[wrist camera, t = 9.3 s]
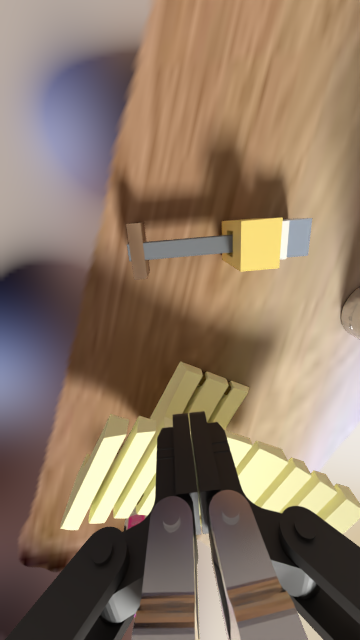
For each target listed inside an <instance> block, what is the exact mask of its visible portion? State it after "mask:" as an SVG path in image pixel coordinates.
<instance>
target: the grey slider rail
mask: <svg viewBox="0 0 360 640" xmlns="http://www.w3.org/2000/svg"><path fill="white" fill-rule="evenodd" d="M127 248H128V255H129V261H131V254H130V247H129V244H127ZM143 248H144V256H145V260H151V259H163V258H174V257H185V256H196V255H208V254H219V253H230V252H233V234H232V235H221V236H209V237H198V238H186V239H174V240H163V241H151V242H144V243H143Z"/></svg>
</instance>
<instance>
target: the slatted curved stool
mask: <svg viewBox="0 0 360 640" xmlns="http://www.w3.org/2000/svg"><path fill="white" fill-rule="evenodd" d="M197 385H198V386H197ZM196 387H197V388H196ZM249 388H250V387H247V386H244V385H242V384H239V383H236V382H234V381H230V383H228V382H227V380H226V378H223V377H220V376H218V375H215V374H213V373H210V372H207V371H206V372H205V374H203V373H202V371H201V369H199V368H197V367H194V366H191V365H189V364H186V363H183V362H181V361H180V363H179V365H178V367H177V368H176V370H175V372H174V374H173V376H172V378H171V380H170V381H169V383H168V385H167V387H166V389H165V391H164V393H163V394H162V396H161V398H160V400H159V402H158V404H157V406H156V408H155V409H154V411H153V413H152V415H151V417H150V419H148V418H145V417H142V416H139V417H138V418H137V420H136V422H135V424H134V426H133V428H132V430H131V432H130V434H129V435H128V437H127V439H126V441H125V443H124V445H123V446H122V448H121V450H120V452H119V453H118V455H117V457H116V458H115V456H116V454H117V452H118V450H119V448H120V446H121V444H122V442H123V440H124V438H125V436H126V434H127V429H128V423H129V420H128V419H125V418H122V417H118V416H115V415H112V414H110V416H109V418H108V420H107V423H106V425H105V427H104V429H103V431H102V433H101V435H100V437H99V439H98V442H97V444H96V446H95V448H94V450H93V452H92V454H91V455H89V454H87V455H86V457H85V459H84V461H83V464H82V466H81V468H80V470H79V472H78V475H77V477H76V480H75V483H74V486H73V489H72V492H71V495H70V498H69V501H68V504H67V506H66V509H65V513H64V516H63V519H62V522H61V527H60V528H62V529H67V530H78V528H79V526H80V524H81V523H82V521H83V519H84V517H85V515H86V513H87V511H88V509H89V507H90V505H91V509H90V514H89V523H92V524H95V523H105V521H106V519H107V517H108V516H109V514H110V512H111V510H112V508H113V507H114V511H113V514H114V518H129V516H130V514H131V513H132V511H133V509H134V508H136V513H137V514H139V515H148V514H149V513H150V511H151V510H152V508H153V505H154V502H155V488H156V461H157V459H156V455H157V437H158V435H159V433H160V431H161V429H162V428H167V427H173V416H172V415H173V414H183V413H188V418H189V413H191V412H201V411H205V415H206V420H207V423H212V422H218V423H219V424H220V426H221V427H222V428H223V429H224V430H225V428H226V427H227V425H228V423H229V422H230V420H231V418H232V417H233V415H234V414H235V412H236V410H237V409H238V407H239V406H240V404H241V403H242V401H243V400H244V398H245V397H246V395H247V394H248V390H249ZM194 390H195V391H194ZM193 392H194V393H193ZM189 399H190V400H189ZM189 426H190V418H189ZM225 433H226V437H227V440H228V444H229V447H230V451H231V454H232V457H233V461H234V464H235V467H236V471H237V474H238V478H239V481H240V485H241V488H242V490H243V492H244V494H245V495H246V497H247V498H248V499H249V500H250V501H251V502H252V503H254V504H255V505H257V506H259V507H261V508H264V509H267V510H271V511H275V512H279V513H282V512H283V511H284V510H285V509H286V508H288V507H291V506H301V507H304V508H307V509H309V510H311V511H312V512H314V513H315V514H316V515H318V516H319V517H320V518H322V519H323V520H324V521H326V522H327V523H328V524H330V525H331V526H332V527H334V528H335V529H336V530H338V531H339V532H340V533H342V534H343V533H345V532H346V531H347V530H348V529H349V528H350V527H351V526H352V525H353V524H355V523H356V522H357V521H358V520H359V519H360V503H359V502H358V500H357V499H356V497H355V496H354V494H353V493H352V492H351V490H350V489H349V487H346V486H343V485H340V484H336V485H335V486H333V485H332V483H331V482H330V480H329V479H328V477H327V475H326V474H324V473H320V472H317V471H313V472H312V473H310V472H309V470H308V468H307V467H306V465H305V463H304V461H301V460H297V459H294V458H290V459H289V461H288V460H287V458H286V457H285V455H284V453H283V451H282V449H280V448H277V447H274V446H271V445H268V444H265V443H262V442H259V441H256V442H255V443H254V444H253V445H252V443H251V440H250V438H247V437H244V436H241V435H238V434H234V433H231V432H228V431H225ZM190 434H191V431H190ZM114 458H115V460H114ZM113 460H114V461H113ZM198 500H199V499H198ZM91 503H92V504H91ZM199 513H200V507H199ZM200 525H201V526H202V523H201V515H200Z"/></svg>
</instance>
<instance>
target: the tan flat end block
mask: <svg viewBox="0 0 360 640" xmlns="http://www.w3.org/2000/svg"><path fill="white" fill-rule="evenodd" d="M126 227H127V234H128V241H129V247H130V254H131V261H132V267H133V274H134V280H138V279H147V278H148V275H149V271H150V267H149V260H145V256H144V248H143V243H144V242H146V235H145V227H144V223H133V224H126Z"/></svg>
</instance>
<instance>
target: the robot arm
mask: <svg viewBox="0 0 360 640" xmlns="http://www.w3.org/2000/svg"><path fill="white" fill-rule="evenodd" d="M341 320H342V325H343V327H344V329H345V330H346V331H347V332H348V333H350V334H351V335H353V336H354V337H356V338H358V339H359V340H360V287H359V288H358V289H357V290H355V291H354V292H353V293H352V294H351V295H350V297H349V298H348V299H347V301H346V303H345V305H344V307H343V310H342V315H341ZM172 416H173V427H167V428H162V429H161V431H160V433H159V435H158V437H157V455H156V459H157V461H156V488H155V502H154V505H153V508H152V510H151V511H150V513H149V514H148V516H147V517H146V518H145V519H144V520H143V521H142V522H140V523H139V524H137V525H135V526H133V527H131V528H129V529H127V530H125V531H123V532H121V531H120V530H119V529H117V528H115V527H105V528H102V529H100V530H98V531H97V532H95V533H94V534H93V535H92V536H91V537H90V538H89V539H88V540H87V541H86V543H85V544H84V545H83V546H82V547H81V549H80V550H79V551H78V552H77V553H76V555H75V556H74V557H73V558H72V559H71V561H70V562H69V563H68V564H67V565H66V567H65V568H64V569H63V570H62V571H61V573H60V574H59V575H58V576H57V578H56V579H55V580H54V581H53V582H52V584H51V585H50V586H49V587H48V588H47V590H46V591H45V592H44V593H43V595H42V596H41V597H40V598H39V599H38V600H37V602H36V603H35V604H34V605H33V607H32V608H31V609H30V610H29V611H28V613H27V614H26V615H25V616H24V617H23V619H22V620H21V621H20V622H19V623H18V625H17V626H16V627H15V628H14V629H13V631H12V632H11V633H10V634H9V635H8V637H7V638H6V639H5V640H121V639H122V637H123V635H124V633H125V632H126V630H127V628H128V627H129V625H130V623H131V621H132V619H133V618H134V616H135V620H134V626H133V632H132V640H200V629H199V605H198V604H199V603H198V579H197V563H198V549H197V538H196V535H199V534H201V526H200V515H201V523H202V531H203V534H206V533H209V539H210V546H211V555H212V564H213V569H214V574H215V578H216V584H217V589H218V594H219V599H220V603H221V609H222V614H223V619H224V624H225V629H226V634H227V638H228V640H308V638H307V636H306V633H305V631H304V628H303V625H302V623H301V620H300V618H299V615H298V613H299V614H300V615H301V616H302V617H303V618H304V619H305V620H306V621H307V622H308V623H309V625H310V626H311V627H312V628H313V629H314V630H315V631H316V632H317V633H318V634H319V635H320V636H321V637H322V639H323V640H360V547H359V546H357V545H356V544H355V543H353V542H352V541H351V540H349V539H348V538H347V537H345V536H344V535H343V534H342V533H340V532H339V531H338V530H336V529H335V528H334V527H332V526H331V525H330V524H328V523H327V522H326V521H324V520H323V519H322V518H320V517H319V516H318V515H316V514H315V513H314V512H312V511H311V510H309V509H307V508H304V507H301V506H291V507H288V508H286V509H285V510H284V511H283V512H282V513H279V512H275V511H271V510H267V509H264V508H261V507H259V506H257V505H255V504H254V503H252V502H251V501H250V500H249V499H248V498H247V497H246V495H245V494H244V492H243V490H242V488H241V485H240V481H239V478H238V474H237V471H236V467H235V464H234V461H233V457H232V454H231V451H230V447H229V444H228V440H227V437H226V433H225V430H224V429H223V428H222V427H221V426H220V424H219V423H218V422H212V423H207V420H206V415H205V411H201V412H191V413H189V418H190V426H189V418H188V413H183V414H173V415H172ZM190 431H191V434H190ZM198 499H199V500H198ZM199 507H200V513H199ZM297 612H298V613H297ZM135 614H136V615H135Z"/></svg>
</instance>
